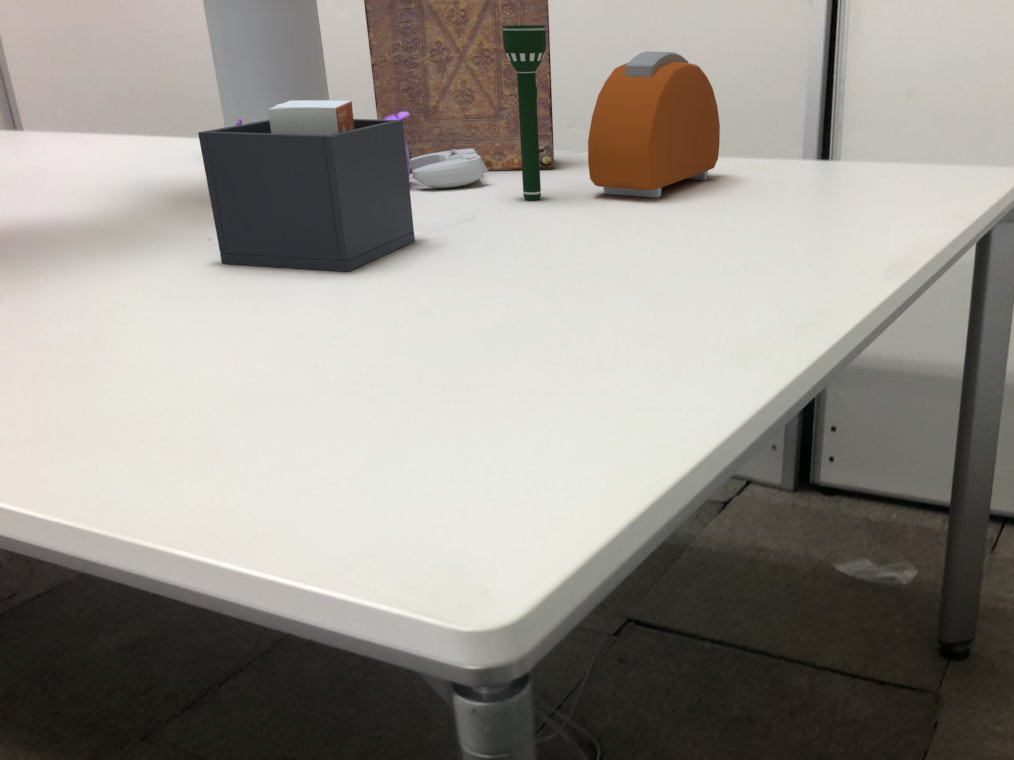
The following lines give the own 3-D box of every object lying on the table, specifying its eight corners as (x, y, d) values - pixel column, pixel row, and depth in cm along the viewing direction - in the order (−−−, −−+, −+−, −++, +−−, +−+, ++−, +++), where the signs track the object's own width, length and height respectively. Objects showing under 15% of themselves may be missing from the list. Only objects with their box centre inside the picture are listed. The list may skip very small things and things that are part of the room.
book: (381, 173, 148) (355, -60, 135) (388, 164, 156) (364, -56, 143) (555, 169, 150) (546, -60, 137) (553, 160, 159) (544, -56, 146)
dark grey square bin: (221, 263, 97) (197, 132, 92) (300, 234, 109) (282, 117, 104) (348, 271, 94) (331, 136, 89) (415, 241, 106) (403, 120, 101)
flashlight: (560, 198, 128) (554, 25, 119) (532, 204, 125) (523, 26, 116) (532, 194, 131) (524, 25, 122) (503, 199, 127) (493, 25, 119)
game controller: (405, 152, 144) (472, 134, 145) (414, 183, 146) (481, 165, 147) (410, 167, 131) (484, 147, 133) (420, 200, 133) (493, 180, 135)
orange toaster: (663, 172, 147) (664, 47, 140) (720, 176, 144) (724, 48, 137) (586, 198, 128) (582, 55, 121) (650, 203, 125) (650, 56, 118)
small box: (354, 250, 97) (336, 106, 92) (287, 251, 97) (265, 107, 91) (368, 232, 105) (352, 99, 99) (305, 233, 104) (286, 99, 99)
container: (213, 165, 155) (180, -16, 145) (243, 150, 171) (215, -14, 160) (328, 163, 157) (304, -17, 146) (347, 148, 172) (326, -15, 162)
